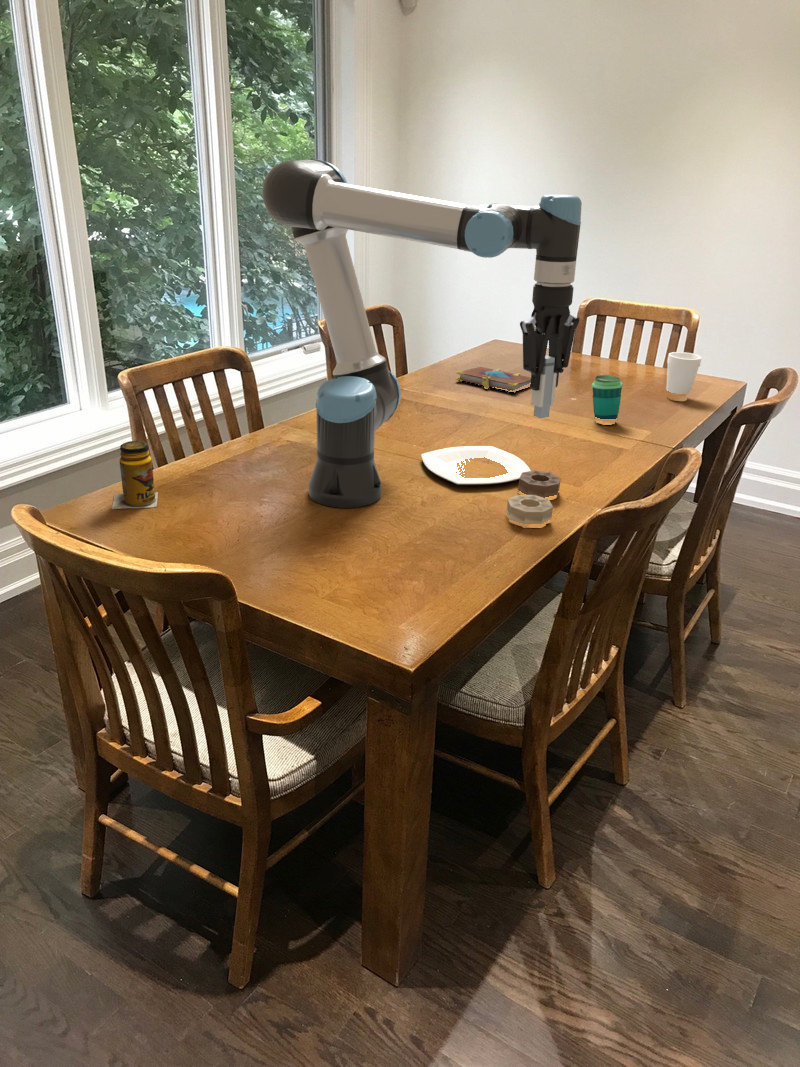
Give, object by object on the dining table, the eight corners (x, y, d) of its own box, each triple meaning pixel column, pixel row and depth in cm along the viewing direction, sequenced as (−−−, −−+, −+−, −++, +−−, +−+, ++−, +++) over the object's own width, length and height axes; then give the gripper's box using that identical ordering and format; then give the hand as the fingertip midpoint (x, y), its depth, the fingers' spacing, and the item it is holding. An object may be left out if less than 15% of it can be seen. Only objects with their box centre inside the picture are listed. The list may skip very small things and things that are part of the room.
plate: (408, 459, 192) (408, 451, 191) (494, 449, 200) (495, 442, 200) (452, 496, 173) (452, 488, 172) (545, 484, 181) (546, 475, 181)
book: (468, 374, 267) (470, 359, 265) (536, 389, 254) (538, 373, 252) (441, 381, 255) (442, 365, 253) (510, 397, 242) (512, 381, 240)
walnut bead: (534, 504, 170) (536, 488, 169) (511, 489, 177) (512, 474, 175) (565, 497, 174) (568, 482, 172) (542, 483, 180) (543, 468, 179)
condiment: (156, 507, 161) (151, 450, 156) (111, 510, 160) (104, 451, 154) (158, 493, 168) (152, 437, 163) (114, 495, 166) (107, 439, 161)
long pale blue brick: (533, 415, 166) (538, 356, 161) (541, 413, 167) (547, 355, 162) (540, 418, 164) (546, 359, 159) (549, 416, 165) (555, 357, 160)
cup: (605, 428, 218) (611, 384, 212) (580, 420, 223) (586, 377, 218) (623, 423, 223) (630, 379, 217) (598, 415, 228) (604, 372, 223)
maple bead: (534, 532, 158) (536, 515, 156) (499, 519, 163) (500, 502, 161) (557, 520, 163) (559, 503, 162) (522, 507, 168) (524, 491, 167)
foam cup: (696, 398, 247) (705, 355, 242) (688, 405, 240) (697, 361, 235) (665, 392, 252) (673, 350, 246) (656, 399, 245) (664, 356, 239)
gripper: (535, 289, 148) (524, 414, 158) (597, 283, 155) (583, 404, 166) (509, 283, 154) (500, 404, 164) (570, 278, 161) (558, 394, 171)
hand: (542, 404), depth 165 cm, fingers closed on long pale blue brick, 2 cm apart
